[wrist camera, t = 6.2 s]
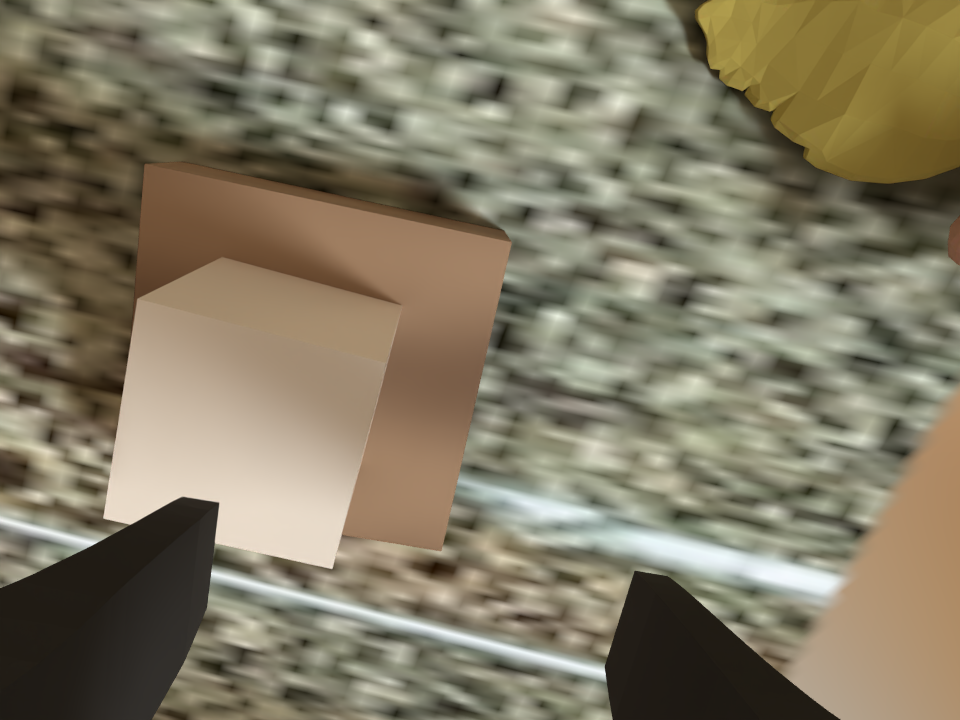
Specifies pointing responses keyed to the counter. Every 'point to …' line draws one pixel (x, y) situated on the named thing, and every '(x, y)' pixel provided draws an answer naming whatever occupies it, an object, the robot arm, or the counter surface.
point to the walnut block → (367, 271)
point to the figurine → (849, 81)
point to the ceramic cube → (251, 405)
